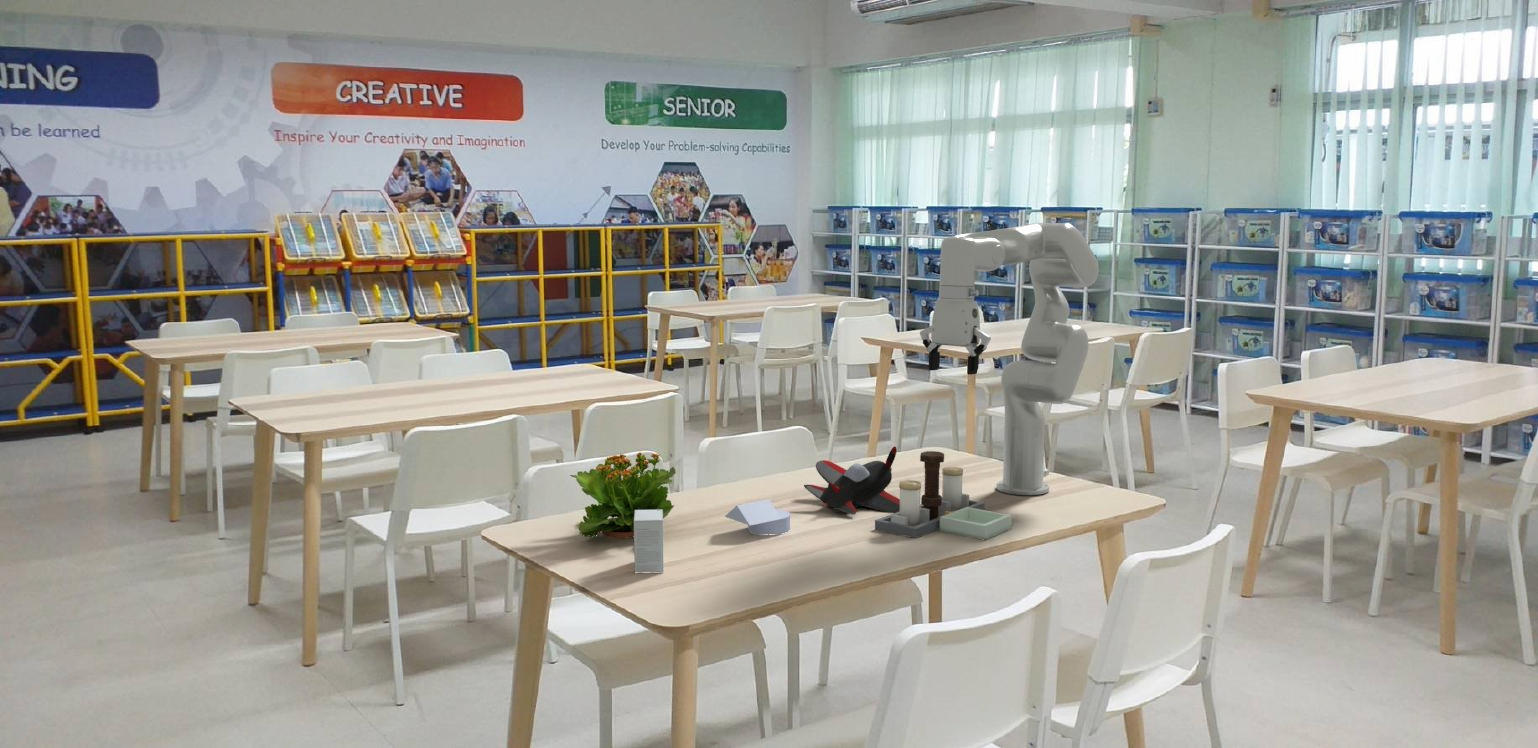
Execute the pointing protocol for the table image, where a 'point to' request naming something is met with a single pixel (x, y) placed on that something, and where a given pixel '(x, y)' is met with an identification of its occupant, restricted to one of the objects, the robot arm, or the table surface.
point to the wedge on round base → (761, 517)
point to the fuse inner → (952, 487)
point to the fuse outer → (910, 501)
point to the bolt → (932, 482)
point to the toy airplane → (857, 486)
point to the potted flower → (622, 494)
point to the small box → (648, 540)
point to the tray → (975, 523)
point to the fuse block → (921, 519)
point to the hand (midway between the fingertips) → (952, 372)
